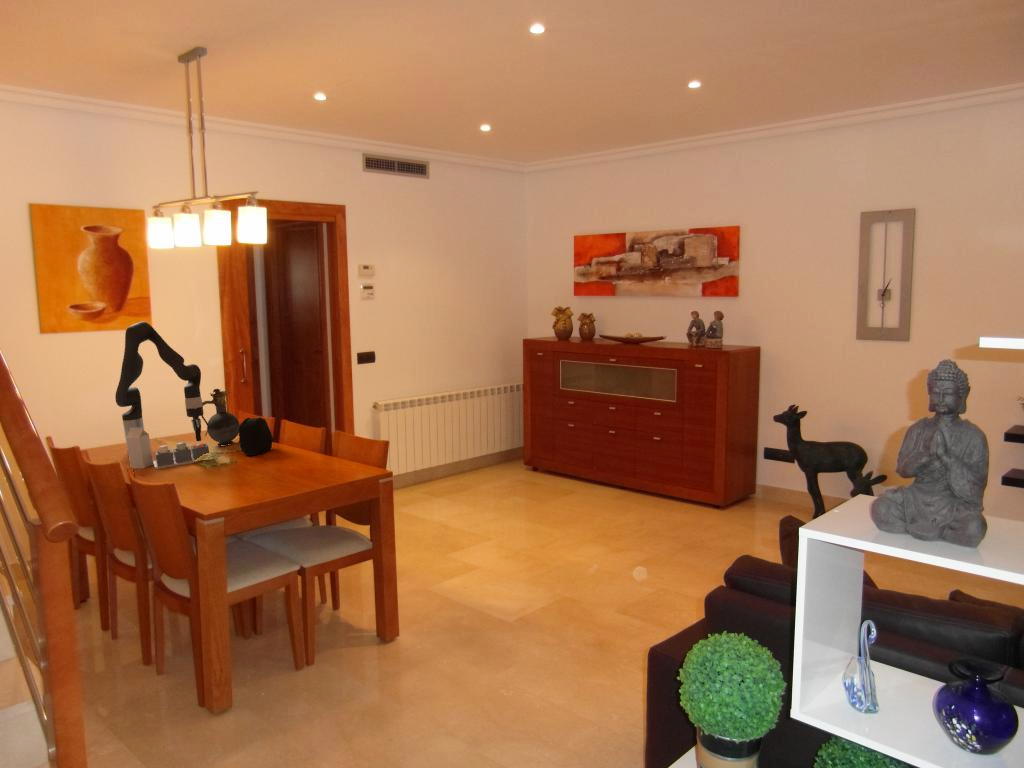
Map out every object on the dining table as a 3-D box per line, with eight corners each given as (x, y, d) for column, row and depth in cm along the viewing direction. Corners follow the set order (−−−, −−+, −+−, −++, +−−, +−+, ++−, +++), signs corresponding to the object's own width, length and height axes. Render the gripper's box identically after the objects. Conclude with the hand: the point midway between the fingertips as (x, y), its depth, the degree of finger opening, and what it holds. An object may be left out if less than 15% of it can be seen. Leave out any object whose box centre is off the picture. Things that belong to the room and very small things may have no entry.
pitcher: (244, 442, 400) (237, 386, 395) (209, 451, 387) (201, 392, 382) (235, 439, 408) (228, 384, 402) (200, 448, 394) (192, 390, 389)
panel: (153, 463, 370) (151, 451, 369) (209, 453, 382) (208, 441, 381) (155, 469, 358) (153, 457, 357) (214, 459, 370) (212, 447, 369)
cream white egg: (159, 456, 367) (157, 446, 366) (168, 454, 369) (167, 444, 368) (159, 458, 363) (158, 448, 362) (169, 456, 365) (168, 446, 364)
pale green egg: (177, 453, 370) (175, 443, 370) (186, 451, 372) (185, 441, 372) (178, 455, 367) (176, 445, 366) (187, 453, 369) (186, 443, 368)
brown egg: (195, 454, 374) (193, 444, 374) (204, 452, 377) (203, 442, 376) (196, 456, 371) (194, 446, 370) (206, 454, 373) (204, 444, 372)
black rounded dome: (281, 446, 386) (277, 413, 383) (267, 456, 369) (262, 421, 366) (247, 448, 388) (243, 414, 385) (231, 457, 371) (226, 422, 368)
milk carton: (143, 468, 361) (137, 429, 357) (130, 468, 362) (124, 429, 359) (153, 464, 368) (147, 425, 364) (140, 464, 369) (134, 426, 366)
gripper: (184, 405, 373) (188, 439, 377) (187, 409, 362) (192, 445, 365) (200, 402, 377) (205, 436, 380) (204, 407, 365) (209, 442, 369)
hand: (198, 440), depth 373 cm, fingers closed
